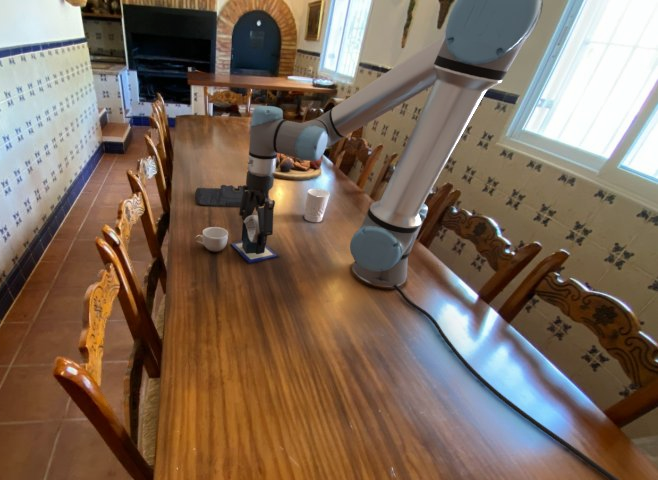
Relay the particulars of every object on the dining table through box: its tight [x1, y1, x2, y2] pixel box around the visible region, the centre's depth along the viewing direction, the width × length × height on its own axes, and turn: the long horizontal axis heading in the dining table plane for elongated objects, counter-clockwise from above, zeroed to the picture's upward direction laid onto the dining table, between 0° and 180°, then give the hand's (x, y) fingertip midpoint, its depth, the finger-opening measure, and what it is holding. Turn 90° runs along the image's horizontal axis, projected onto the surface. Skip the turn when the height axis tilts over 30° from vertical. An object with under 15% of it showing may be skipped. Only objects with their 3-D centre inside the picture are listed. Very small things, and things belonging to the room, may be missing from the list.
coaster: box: [230, 240, 278, 264], centre depth 112 cm, size 12×10×1 cm
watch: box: [242, 214, 260, 254], centre depth 108 cm, size 6×8×11 cm
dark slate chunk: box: [194, 184, 243, 208], centre depth 142 cm, size 15×22×5 cm
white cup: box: [303, 188, 331, 223], centre depth 131 cm, size 8×8×10 cm
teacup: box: [195, 226, 229, 252], centre depth 110 cm, size 10×8×5 cm
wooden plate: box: [273, 153, 323, 181], centre depth 175 cm, size 32×32×8 cm
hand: (252, 246), depth 111 cm, fingers closed on watch, 8 cm apart
